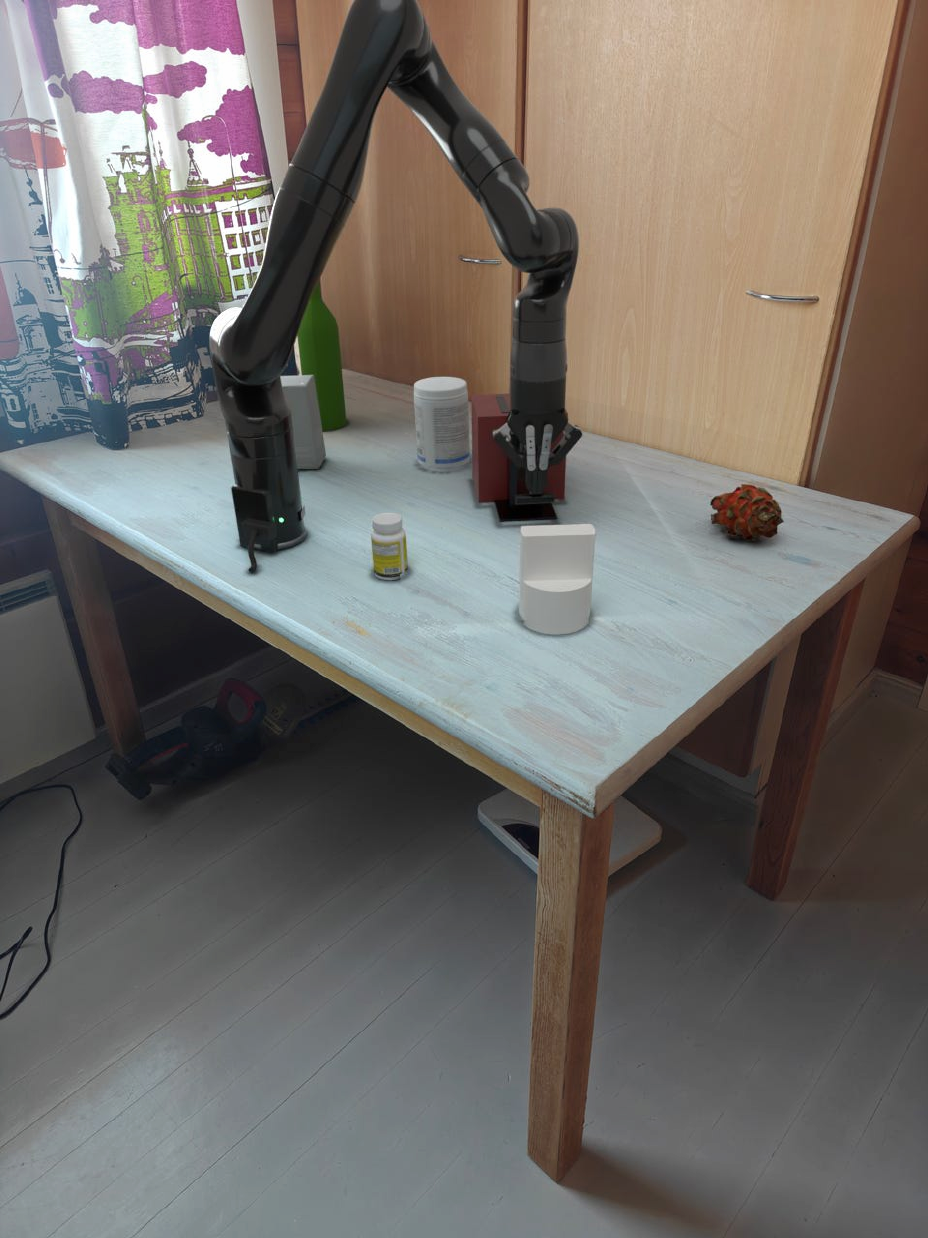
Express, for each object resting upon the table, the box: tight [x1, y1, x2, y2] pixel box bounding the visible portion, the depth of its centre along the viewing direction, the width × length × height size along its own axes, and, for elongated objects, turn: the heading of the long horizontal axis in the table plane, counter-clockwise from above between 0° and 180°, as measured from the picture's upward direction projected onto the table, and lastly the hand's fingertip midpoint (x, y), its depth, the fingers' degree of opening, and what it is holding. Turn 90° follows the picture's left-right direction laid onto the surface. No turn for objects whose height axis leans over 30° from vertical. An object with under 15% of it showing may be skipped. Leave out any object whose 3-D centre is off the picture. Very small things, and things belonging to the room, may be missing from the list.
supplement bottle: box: [370, 512, 409, 581], centre depth 120 cm, size 5×5×8 cm
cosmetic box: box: [280, 375, 327, 470], centre depth 157 cm, size 8×7×16 cm
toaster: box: [470, 393, 569, 504], centre depth 144 cm, size 12×14×15 cm
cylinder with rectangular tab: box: [518, 523, 596, 636], centre depth 108 cm, size 9×9×12 cm
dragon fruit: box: [707, 483, 785, 542], centre depth 130 cm, size 8×8×12 cm
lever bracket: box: [493, 430, 558, 523], centre depth 136 cm, size 10×9×14 cm
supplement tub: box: [413, 376, 471, 469], centre depth 156 cm, size 10×10×15 cm
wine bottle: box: [293, 280, 347, 432], centre depth 173 cm, size 9×9×32 cm
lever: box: [515, 440, 556, 504], centre depth 131 cm, size 14×6×2 cm, turn 5°
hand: (535, 492), depth 127 cm, fingers closed
